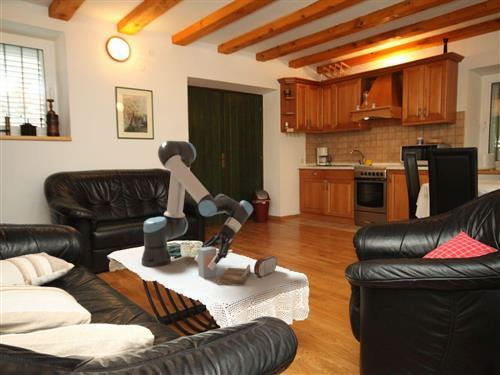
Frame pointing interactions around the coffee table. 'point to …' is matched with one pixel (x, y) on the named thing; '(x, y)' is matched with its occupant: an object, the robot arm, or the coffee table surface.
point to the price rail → (245, 273)
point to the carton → (206, 261)
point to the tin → (265, 265)
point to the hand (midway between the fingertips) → (202, 264)
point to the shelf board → (233, 276)
